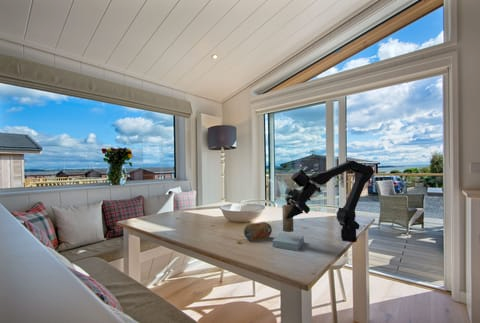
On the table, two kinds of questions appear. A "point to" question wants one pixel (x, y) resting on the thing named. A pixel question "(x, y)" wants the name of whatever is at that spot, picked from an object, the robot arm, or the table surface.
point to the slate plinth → (288, 241)
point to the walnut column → (287, 222)
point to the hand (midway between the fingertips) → (285, 217)
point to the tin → (257, 231)
